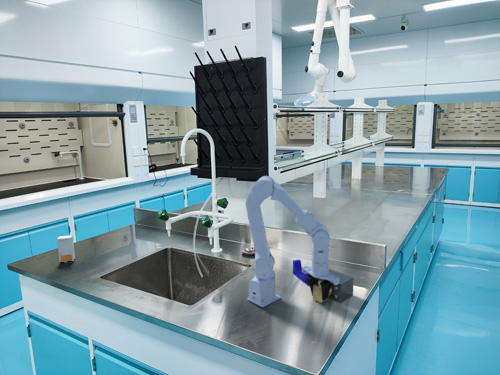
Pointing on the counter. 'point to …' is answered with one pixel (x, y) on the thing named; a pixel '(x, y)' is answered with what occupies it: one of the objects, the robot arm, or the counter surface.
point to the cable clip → (299, 271)
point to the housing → (341, 287)
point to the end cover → (319, 292)
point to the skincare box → (66, 248)
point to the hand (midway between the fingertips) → (319, 297)
